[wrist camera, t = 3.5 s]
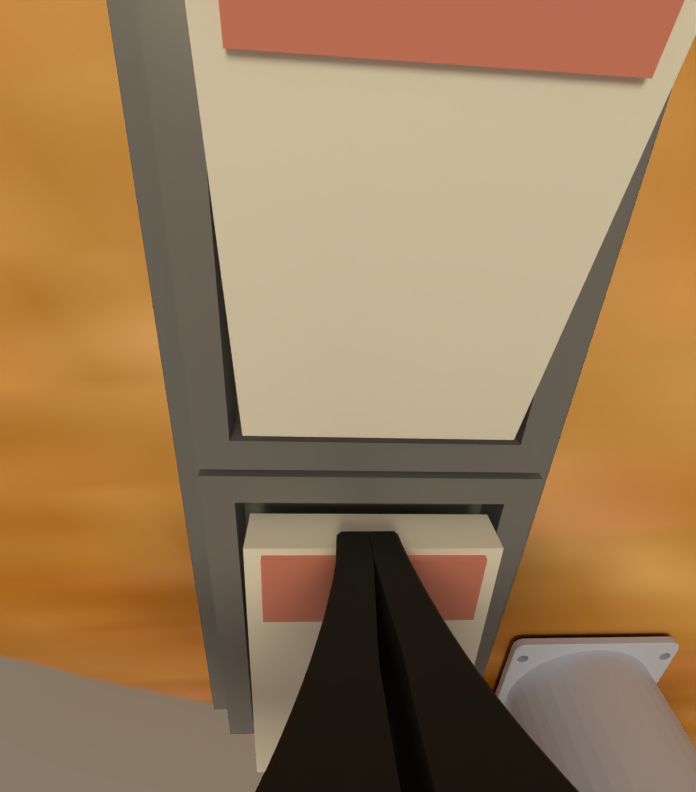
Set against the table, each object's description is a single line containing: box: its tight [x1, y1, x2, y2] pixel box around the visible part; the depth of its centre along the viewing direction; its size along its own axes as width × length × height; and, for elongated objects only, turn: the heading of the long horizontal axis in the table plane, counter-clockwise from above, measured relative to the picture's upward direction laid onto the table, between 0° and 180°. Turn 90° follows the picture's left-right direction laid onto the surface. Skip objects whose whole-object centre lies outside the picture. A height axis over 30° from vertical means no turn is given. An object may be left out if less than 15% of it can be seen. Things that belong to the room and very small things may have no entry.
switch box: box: [107, 0, 673, 734], centre depth 13 cm, size 24×10×5 cm, turn 177°
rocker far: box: [243, 513, 504, 772], centre depth 13 cm, size 9×6×1 cm, turn 177°
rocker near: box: [185, 0, 696, 440], centre depth 8 cm, size 9×6×1 cm, turn 177°
